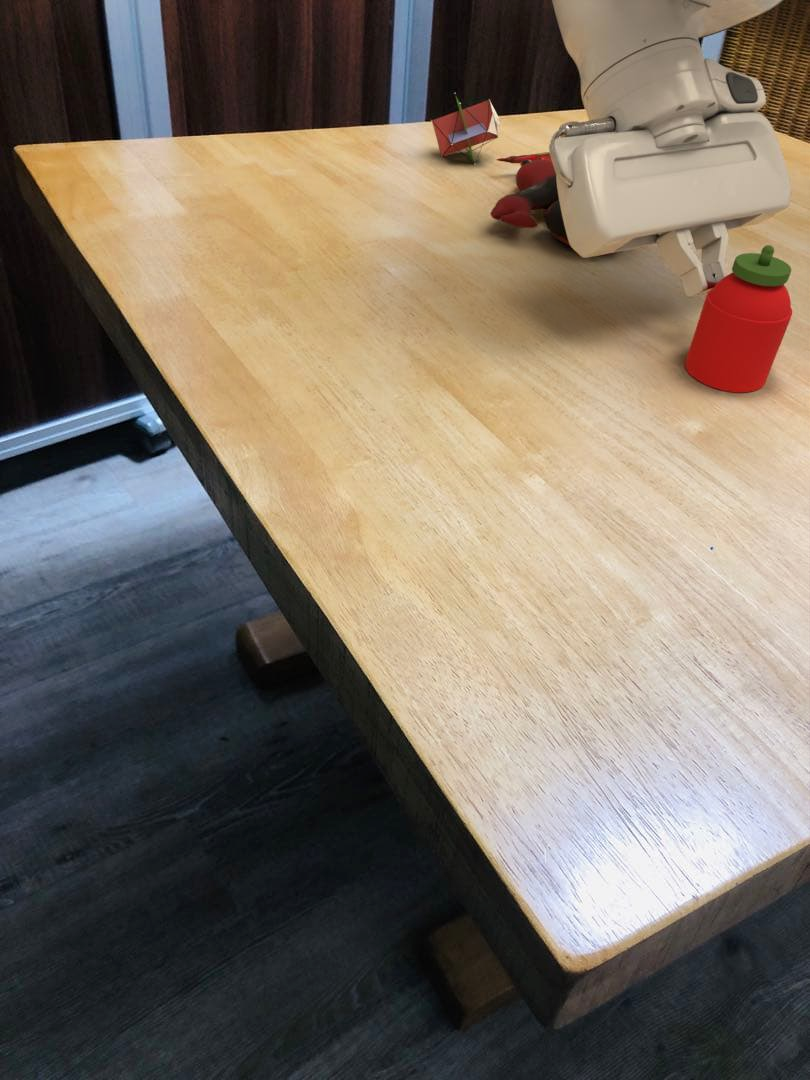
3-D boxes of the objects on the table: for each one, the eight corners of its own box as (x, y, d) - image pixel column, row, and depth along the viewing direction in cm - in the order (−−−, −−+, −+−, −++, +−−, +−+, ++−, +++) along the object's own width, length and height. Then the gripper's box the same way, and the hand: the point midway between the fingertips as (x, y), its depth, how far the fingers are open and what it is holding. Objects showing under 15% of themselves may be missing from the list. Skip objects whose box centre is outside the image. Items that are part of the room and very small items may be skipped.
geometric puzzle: (421, 146, 95) (471, 84, 92) (415, 127, 100) (462, 68, 97) (468, 188, 99) (517, 130, 95) (459, 167, 104) (506, 112, 100)
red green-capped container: (746, 352, 68) (791, 229, 62) (778, 393, 63) (831, 265, 57) (673, 351, 67) (712, 227, 61) (701, 392, 63) (746, 262, 56)
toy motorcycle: (637, 192, 99) (505, 147, 100) (655, 146, 95) (519, 101, 96) (614, 284, 81) (454, 228, 82) (636, 231, 77) (468, 174, 78)
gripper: (569, 99, 57) (634, 299, 57) (776, 80, 66) (831, 254, 66) (518, 149, 62) (577, 331, 63) (715, 125, 71) (766, 285, 72)
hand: (709, 291), depth 64 cm, fingers closed, pressing on red green-capped container
